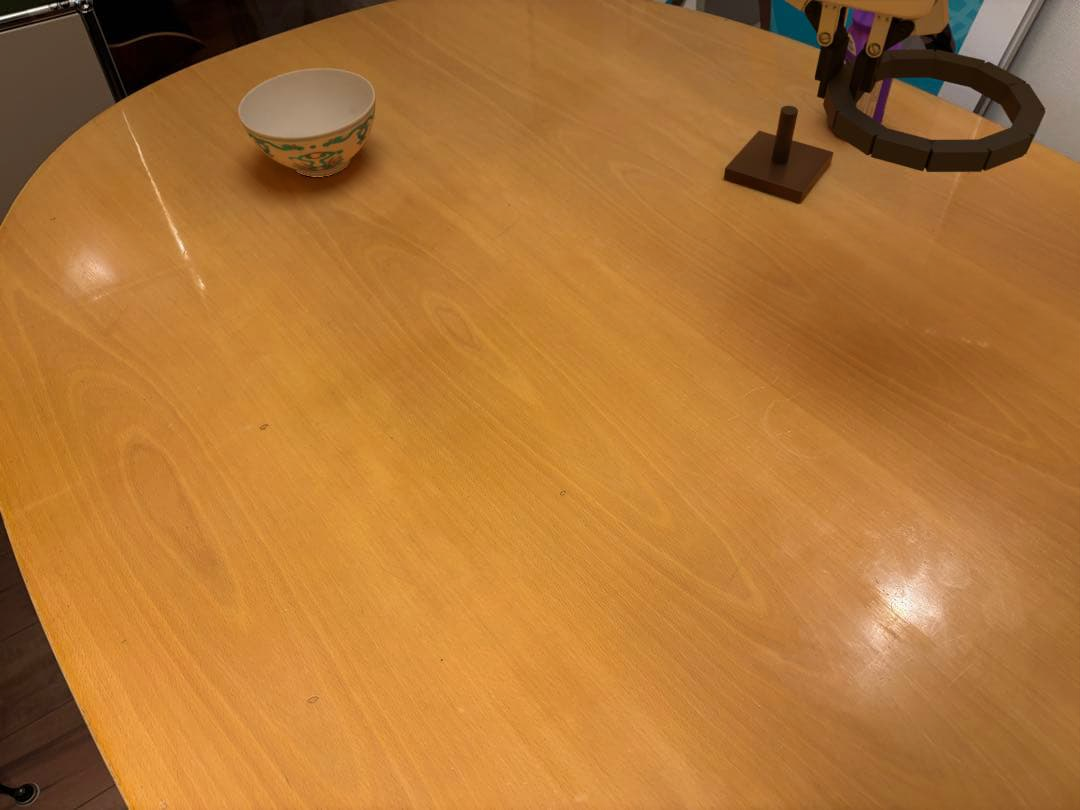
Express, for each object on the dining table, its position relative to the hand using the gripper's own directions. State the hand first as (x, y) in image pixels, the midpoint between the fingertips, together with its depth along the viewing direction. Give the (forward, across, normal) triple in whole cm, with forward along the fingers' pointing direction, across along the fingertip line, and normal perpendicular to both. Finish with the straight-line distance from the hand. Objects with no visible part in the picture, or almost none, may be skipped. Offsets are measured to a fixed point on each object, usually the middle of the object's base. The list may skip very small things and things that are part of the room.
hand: (842, 92), depth 68 cm
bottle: (+21, +6, -32) cm, 39 cm away
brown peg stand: (+21, +10, -19) cm, 30 cm away
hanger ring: (0, -7, 0) cm, 7 cm away
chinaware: (+21, +56, +5) cm, 60 cm away
